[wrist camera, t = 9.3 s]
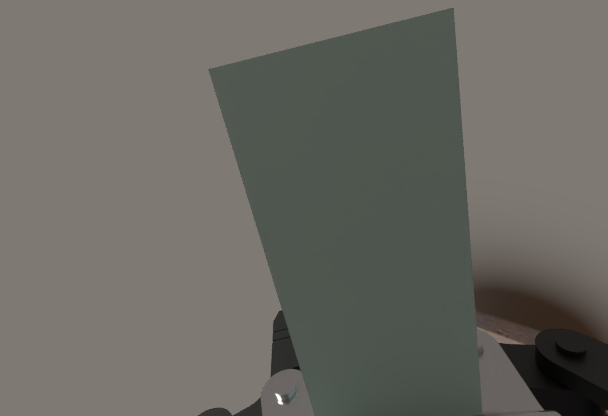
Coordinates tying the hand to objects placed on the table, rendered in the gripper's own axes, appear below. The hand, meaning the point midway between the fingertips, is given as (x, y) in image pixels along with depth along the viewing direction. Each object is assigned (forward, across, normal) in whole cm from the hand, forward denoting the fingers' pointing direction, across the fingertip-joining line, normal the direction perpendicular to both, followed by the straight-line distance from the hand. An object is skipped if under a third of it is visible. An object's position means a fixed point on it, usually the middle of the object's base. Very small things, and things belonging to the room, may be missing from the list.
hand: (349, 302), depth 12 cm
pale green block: (0, 0, +12) cm, 12 cm away
